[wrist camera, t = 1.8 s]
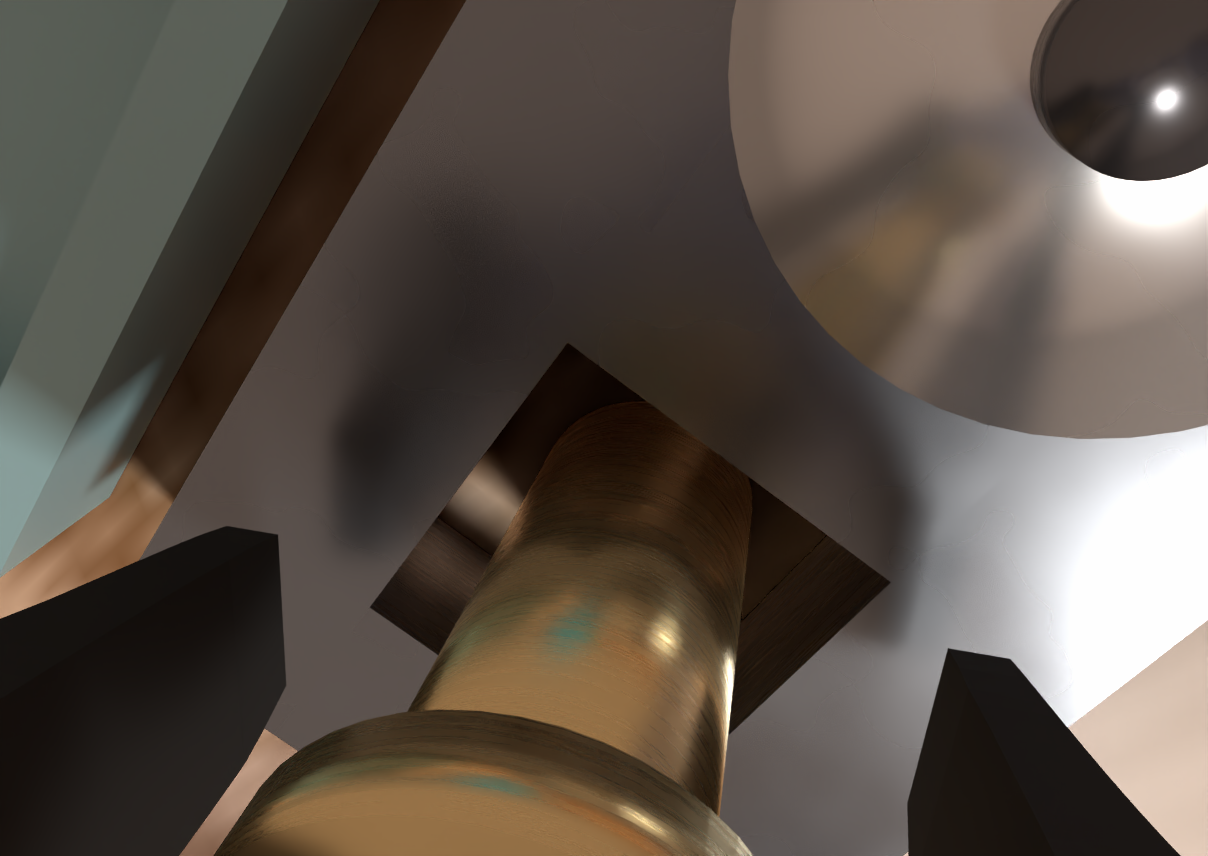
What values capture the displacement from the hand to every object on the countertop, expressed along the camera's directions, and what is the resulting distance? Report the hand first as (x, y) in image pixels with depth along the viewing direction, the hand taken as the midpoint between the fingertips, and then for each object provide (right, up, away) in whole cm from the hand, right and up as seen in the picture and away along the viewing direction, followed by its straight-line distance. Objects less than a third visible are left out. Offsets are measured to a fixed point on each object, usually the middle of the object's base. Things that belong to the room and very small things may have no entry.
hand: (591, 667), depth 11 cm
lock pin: (+1, +2, +4) cm, 4 cm away
